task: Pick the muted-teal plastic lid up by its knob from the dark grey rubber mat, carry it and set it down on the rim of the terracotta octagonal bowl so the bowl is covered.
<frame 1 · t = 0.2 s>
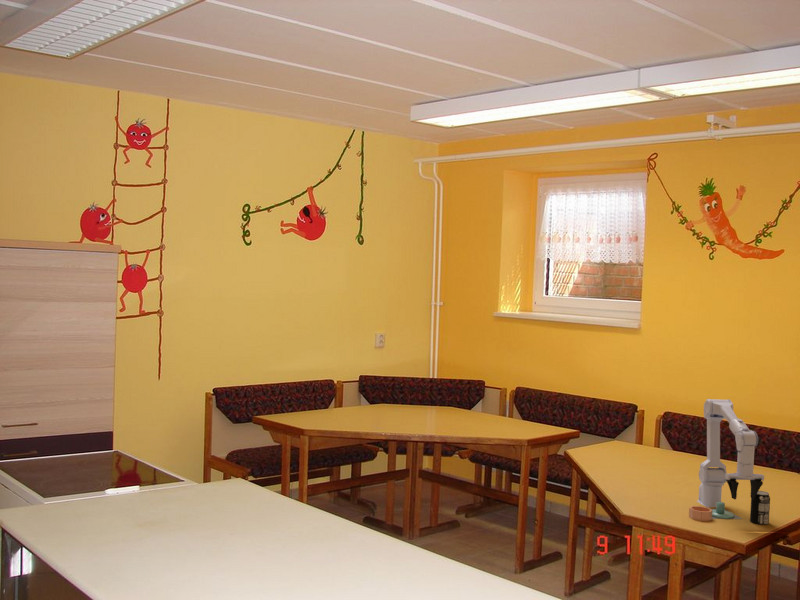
hand: (743, 498, 308), 10 cm above the table, fingers open, 7 cm apart
lid: (720, 515, 318), point 1 cm above the table, touching mat
bowl: (700, 519, 313), on the table
mat: (719, 515, 320), on the table
beverage can: (759, 524, 311), on the table
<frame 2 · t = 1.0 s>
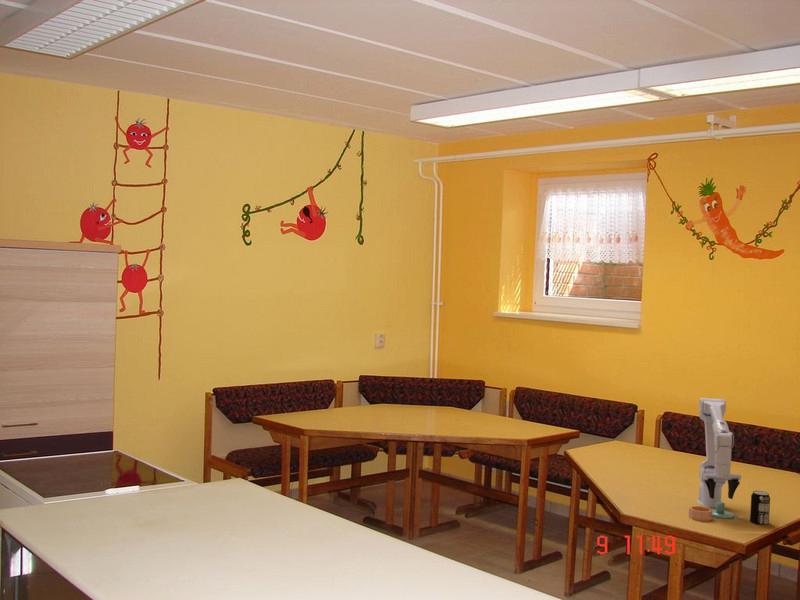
hand: (721, 498, 318), 7 cm above the table, fingers open, 7 cm apart
nothing on the table moved.
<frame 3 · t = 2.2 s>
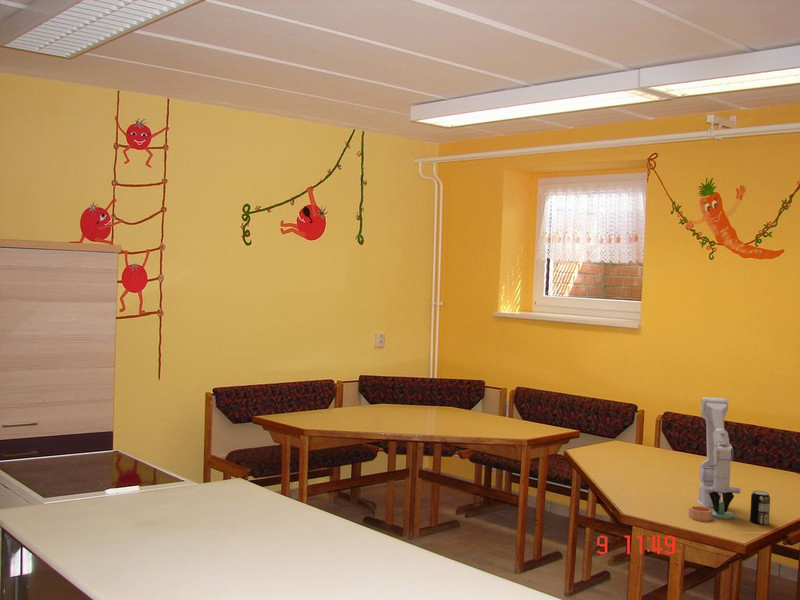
hand: (720, 511, 318), 2 cm above the table, fingers closed on lid, 3 cm apart
lid: (720, 515, 318), point 1 cm above the table, touching gripper, mat
everything else where it was.
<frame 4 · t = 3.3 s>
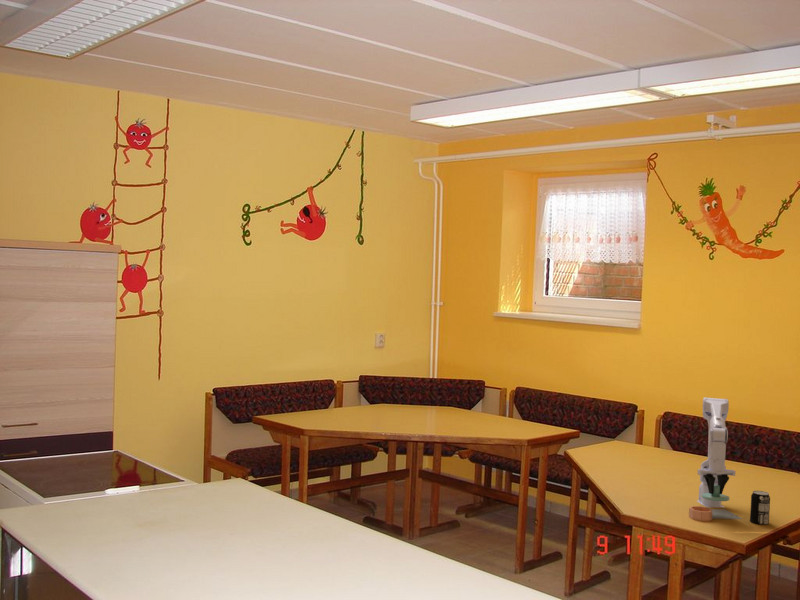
hand: (715, 493, 317), 9 cm above the table, fingers closed on lid, 3 cm apart
lid: (715, 498, 316), point 8 cm above the table, touching gripper
everything else where it was.
when the fingers open (7 cm above the table, at t = 4.4 s): lid stays where it is, resting on bowl.
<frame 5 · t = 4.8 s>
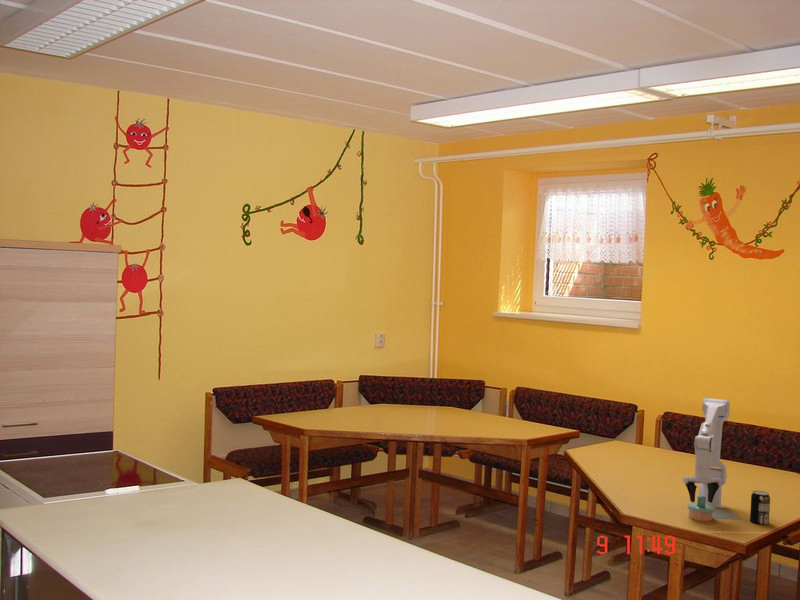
hand: (701, 501, 313), 7 cm above the table, fingers open, 6 cm apart
lid: (700, 509, 313), point 4 cm above the table, touching bowl
everything else where it was.
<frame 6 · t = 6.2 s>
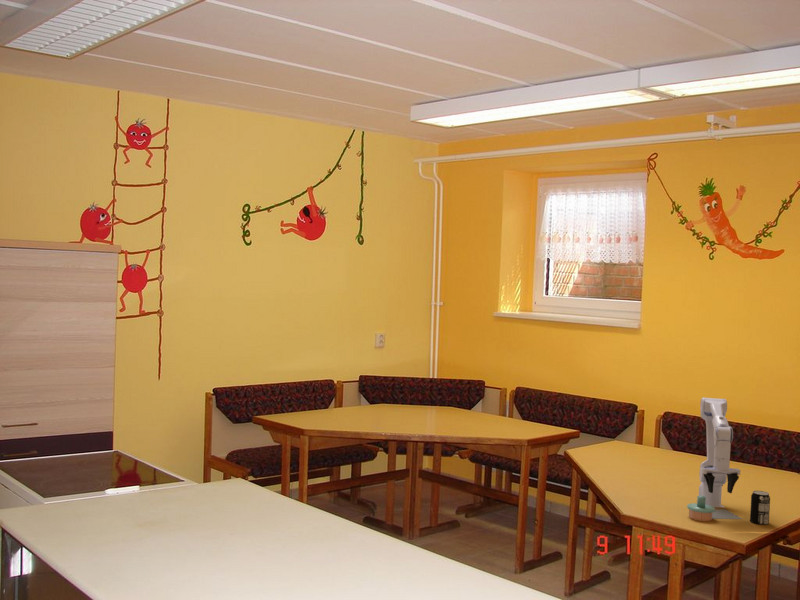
hand: (720, 492, 317), 10 cm above the table, fingers open, 7 cm apart
nothing on the table moved.
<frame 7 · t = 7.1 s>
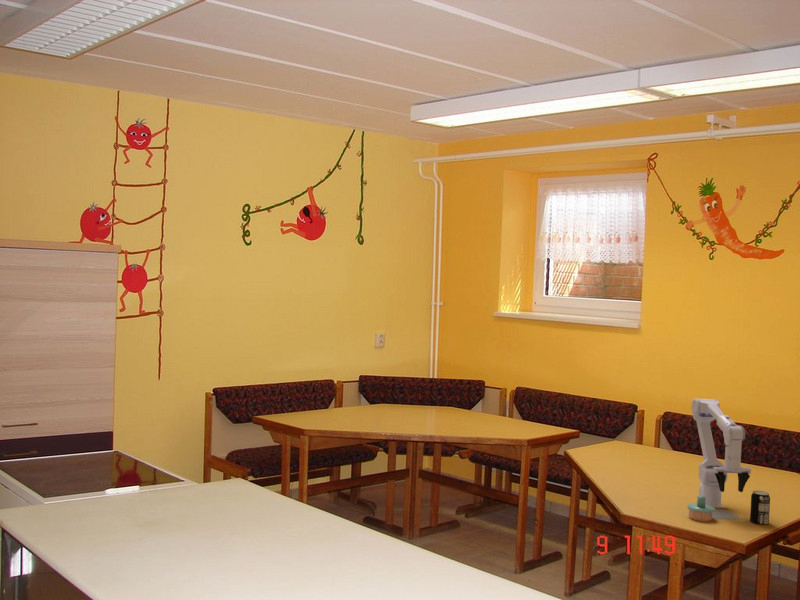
hand: (731, 491, 319), 10 cm above the table, fingers open, 7 cm apart
nothing on the table moved.
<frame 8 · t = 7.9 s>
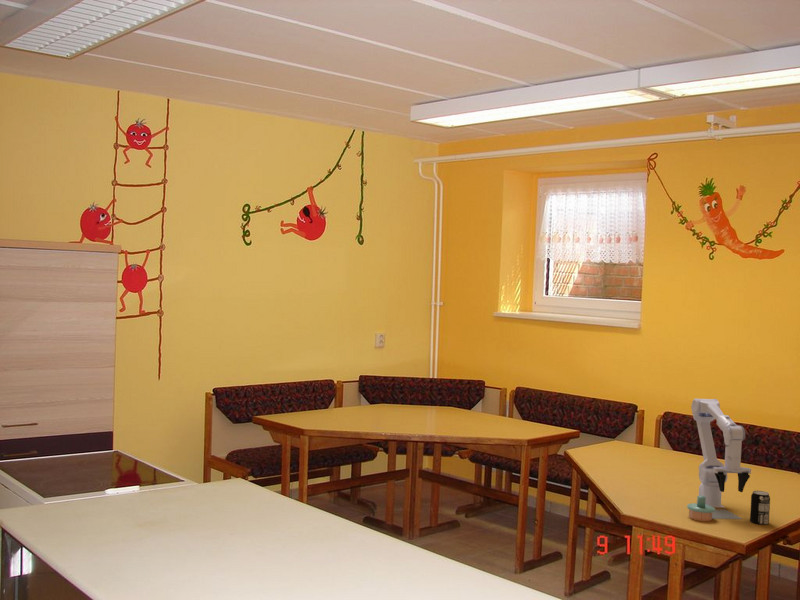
hand: (731, 491, 319), 10 cm above the table, fingers open, 7 cm apart
nothing on the table moved.
at the end: lid 0.1 cm off-centre on the bowl, point 4.0 cm above the bowl's base; lid tilted 0°; the gripper is holding nothing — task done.
